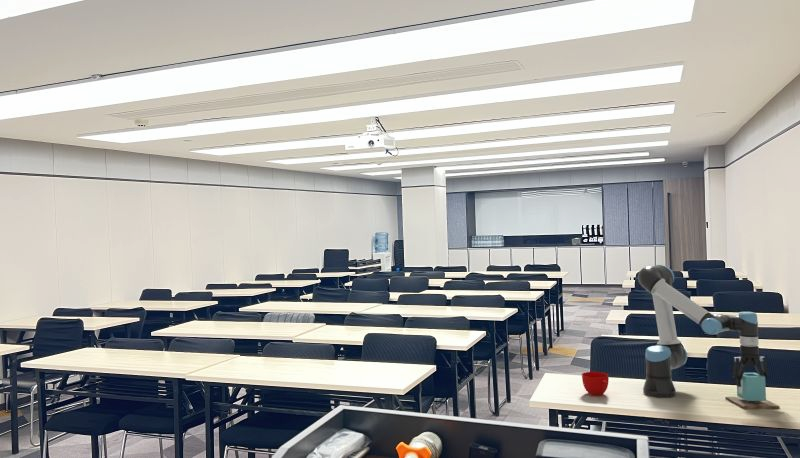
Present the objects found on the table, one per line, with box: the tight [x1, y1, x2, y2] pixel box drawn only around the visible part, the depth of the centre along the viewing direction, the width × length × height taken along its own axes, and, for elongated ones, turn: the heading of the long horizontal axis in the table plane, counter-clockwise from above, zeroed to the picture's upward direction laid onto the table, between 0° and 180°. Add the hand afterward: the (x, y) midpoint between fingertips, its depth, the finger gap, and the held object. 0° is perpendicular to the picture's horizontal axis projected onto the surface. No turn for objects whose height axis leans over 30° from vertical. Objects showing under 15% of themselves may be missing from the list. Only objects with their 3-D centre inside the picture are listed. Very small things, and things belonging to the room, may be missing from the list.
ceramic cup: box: [581, 371, 609, 397], centre depth 288 cm, size 13×17×10 cm
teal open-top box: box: [736, 372, 767, 401], centre depth 266 cm, size 8×8×11 cm
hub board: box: [724, 396, 781, 410], centre depth 266 cm, size 16×16×12 cm
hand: (751, 393), depth 266 cm, fingers closed on teal open-top box, 8 cm apart
